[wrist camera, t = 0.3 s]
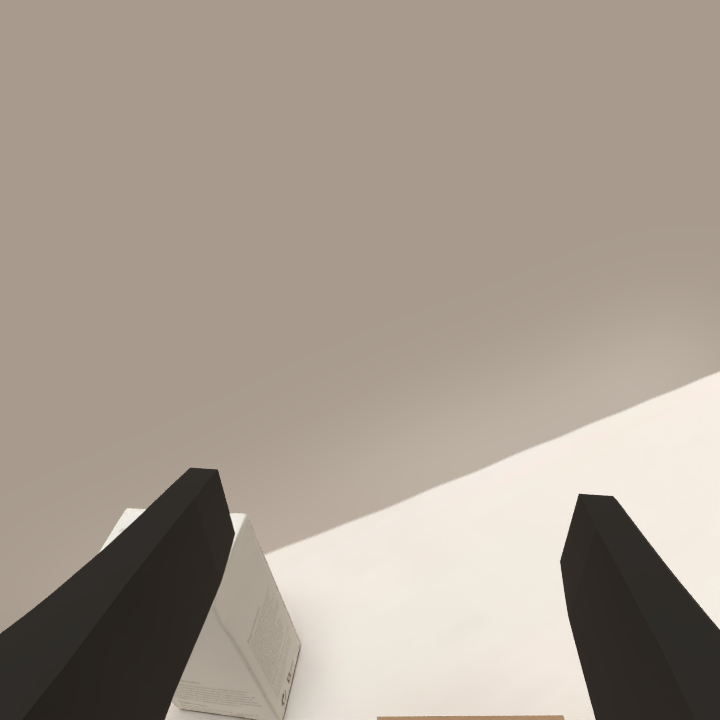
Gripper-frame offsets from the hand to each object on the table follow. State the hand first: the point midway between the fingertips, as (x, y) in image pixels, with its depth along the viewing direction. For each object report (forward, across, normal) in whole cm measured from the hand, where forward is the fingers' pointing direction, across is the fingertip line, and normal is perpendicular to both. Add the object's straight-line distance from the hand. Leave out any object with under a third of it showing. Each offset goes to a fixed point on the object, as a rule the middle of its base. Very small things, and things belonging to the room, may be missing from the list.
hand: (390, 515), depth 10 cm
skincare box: (+6, +9, +21) cm, 24 cm away
